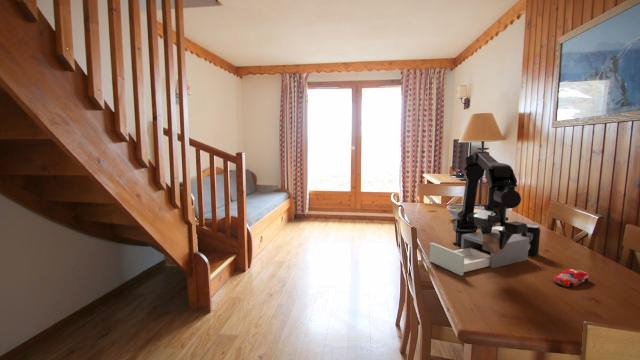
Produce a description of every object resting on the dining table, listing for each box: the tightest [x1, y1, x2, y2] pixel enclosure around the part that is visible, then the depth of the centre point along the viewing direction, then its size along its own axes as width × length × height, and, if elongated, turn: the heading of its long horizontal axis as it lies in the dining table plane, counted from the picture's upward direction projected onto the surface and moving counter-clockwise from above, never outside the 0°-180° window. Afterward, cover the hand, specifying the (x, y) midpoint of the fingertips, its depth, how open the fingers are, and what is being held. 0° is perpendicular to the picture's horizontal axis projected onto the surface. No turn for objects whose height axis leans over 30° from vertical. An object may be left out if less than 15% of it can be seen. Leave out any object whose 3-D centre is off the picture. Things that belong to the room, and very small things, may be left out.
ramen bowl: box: [446, 203, 485, 219], centre depth 187 cm, size 25×23×8 cm
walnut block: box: [482, 232, 506, 254], centre depth 111 cm, size 5×5×6 cm
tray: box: [429, 242, 491, 277], centre depth 123 cm, size 20×15×7 cm
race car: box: [552, 268, 590, 288], centre depth 108 cm, size 13×5×4 cm, turn 111°
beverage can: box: [520, 222, 541, 257], centre depth 134 cm, size 7×7×12 cm
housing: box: [460, 229, 529, 269], centre depth 130 cm, size 20×15×9 cm
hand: (494, 246), depth 111 cm, fingers closed on walnut block, 5 cm apart
